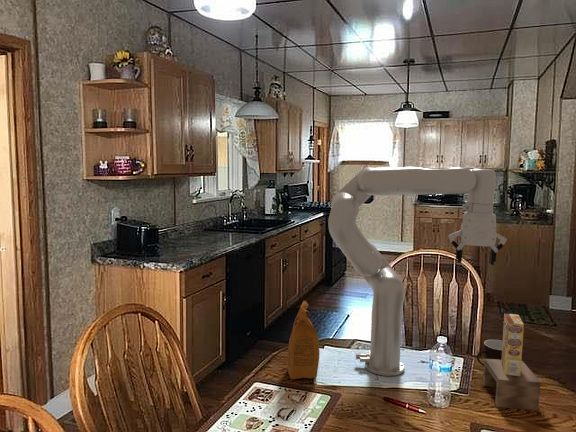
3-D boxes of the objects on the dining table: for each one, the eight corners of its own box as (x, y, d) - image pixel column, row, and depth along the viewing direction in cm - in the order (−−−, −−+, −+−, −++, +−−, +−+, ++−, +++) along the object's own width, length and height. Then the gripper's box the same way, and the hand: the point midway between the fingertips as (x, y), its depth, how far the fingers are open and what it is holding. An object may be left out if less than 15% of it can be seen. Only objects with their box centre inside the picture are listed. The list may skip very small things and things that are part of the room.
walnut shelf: (496, 406, 140) (498, 379, 139) (482, 383, 153) (484, 358, 152) (538, 409, 138) (540, 382, 137) (520, 386, 152) (522, 360, 151)
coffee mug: (506, 369, 164) (508, 340, 162) (515, 381, 155) (517, 350, 154) (469, 367, 165) (471, 338, 163) (476, 379, 156) (478, 348, 155)
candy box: (520, 377, 140) (525, 324, 138) (504, 375, 141) (508, 322, 139) (515, 364, 149) (519, 314, 147) (499, 362, 150) (503, 312, 148)
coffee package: (318, 364, 165) (319, 299, 162) (319, 382, 153) (321, 312, 150) (287, 363, 165) (289, 298, 163) (286, 380, 153) (287, 311, 150)
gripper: (452, 208, 153) (448, 263, 155) (512, 211, 151) (507, 267, 153) (448, 206, 160) (444, 258, 163) (505, 208, 158) (500, 262, 160)
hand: (475, 262), depth 158 cm, fingers open, 9 cm apart
